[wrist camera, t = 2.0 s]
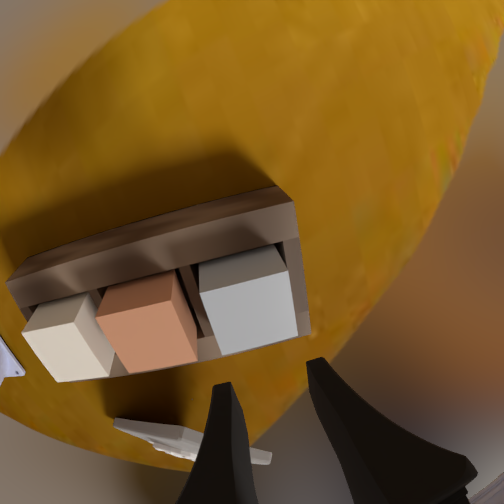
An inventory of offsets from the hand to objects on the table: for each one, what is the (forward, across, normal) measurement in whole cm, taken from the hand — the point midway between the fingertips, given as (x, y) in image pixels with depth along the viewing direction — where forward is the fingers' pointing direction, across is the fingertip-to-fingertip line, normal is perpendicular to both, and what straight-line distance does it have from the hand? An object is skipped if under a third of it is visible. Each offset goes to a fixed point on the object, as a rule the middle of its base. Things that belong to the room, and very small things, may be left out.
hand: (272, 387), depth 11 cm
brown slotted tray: (+10, +6, 0) cm, 12 cm away
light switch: (+11, +9, +14) cm, 20 cm away
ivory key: (+8, +11, 0) cm, 14 cm away
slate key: (+8, 0, 0) cm, 8 cm away
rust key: (+8, +6, 0) cm, 9 cm away
